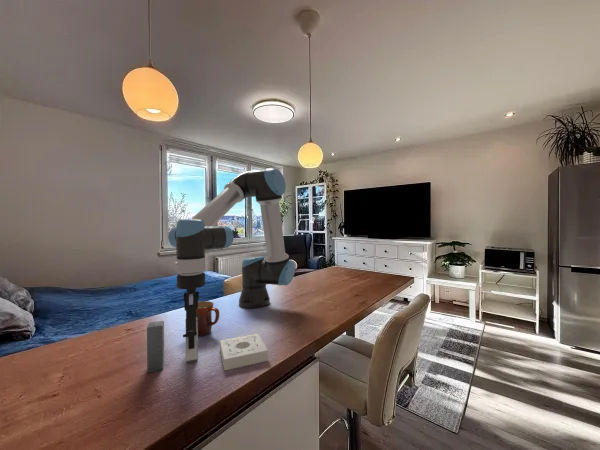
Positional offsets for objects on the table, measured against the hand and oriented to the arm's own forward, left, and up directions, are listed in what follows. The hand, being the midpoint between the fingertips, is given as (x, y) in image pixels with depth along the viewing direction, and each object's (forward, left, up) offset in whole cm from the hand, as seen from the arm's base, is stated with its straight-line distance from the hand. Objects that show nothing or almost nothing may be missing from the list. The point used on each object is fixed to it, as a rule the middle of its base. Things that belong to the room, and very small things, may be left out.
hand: (191, 349), depth 71 cm
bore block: (+3, +14, -3) cm, 15 cm away
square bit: (0, -9, -3) cm, 10 cm away
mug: (-18, +4, -3) cm, 19 cm away
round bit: (0, 0, -3) cm, 3 cm away
